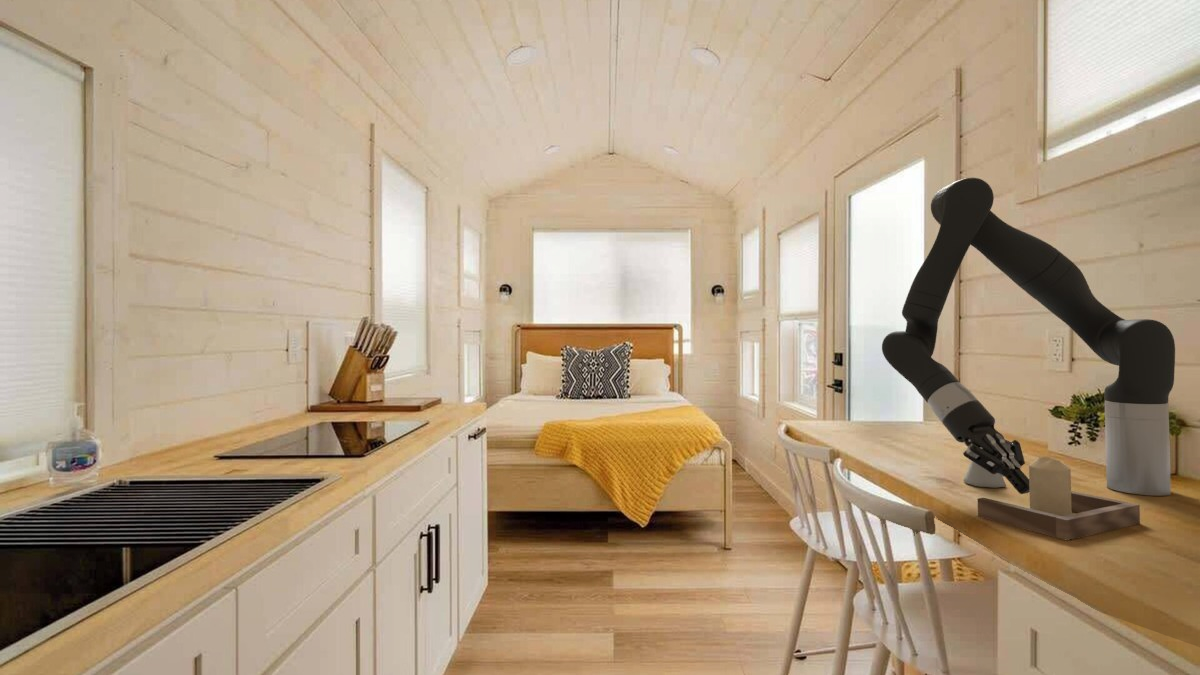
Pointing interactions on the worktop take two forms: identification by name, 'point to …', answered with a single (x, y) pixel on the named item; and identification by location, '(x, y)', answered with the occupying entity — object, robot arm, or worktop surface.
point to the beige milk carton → (1050, 486)
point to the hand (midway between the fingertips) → (1028, 491)
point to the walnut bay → (1090, 520)
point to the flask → (983, 477)
